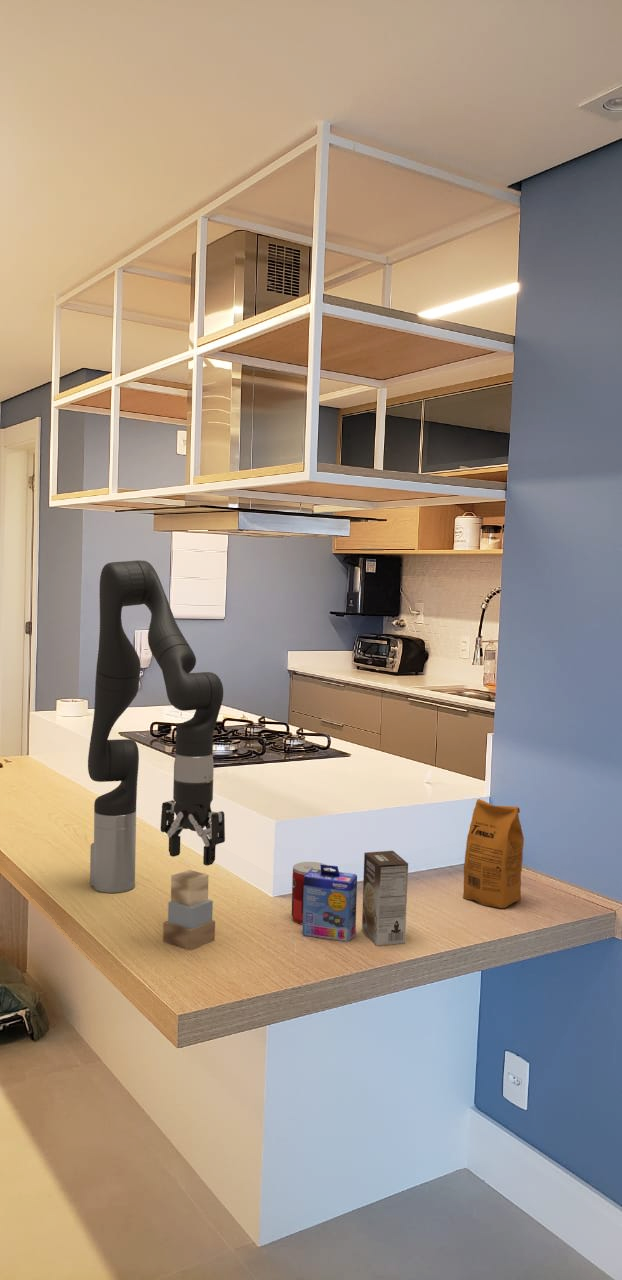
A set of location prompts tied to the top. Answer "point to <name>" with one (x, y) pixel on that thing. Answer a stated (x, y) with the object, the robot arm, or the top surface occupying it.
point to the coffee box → (384, 897)
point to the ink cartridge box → (329, 904)
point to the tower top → (190, 914)
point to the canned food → (300, 887)
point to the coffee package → (493, 856)
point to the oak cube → (189, 888)
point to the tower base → (188, 935)
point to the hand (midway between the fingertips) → (191, 860)
